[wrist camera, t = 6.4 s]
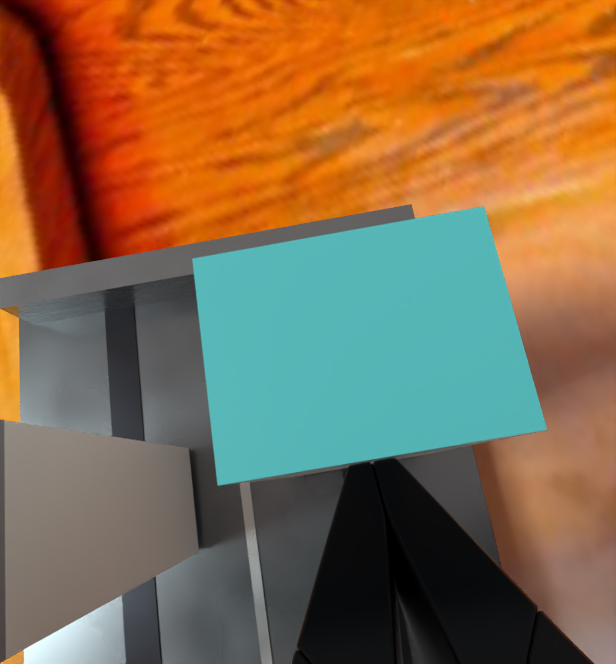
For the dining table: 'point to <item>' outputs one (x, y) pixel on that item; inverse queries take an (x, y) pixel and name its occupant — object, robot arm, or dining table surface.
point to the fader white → (84, 524)
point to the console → (192, 459)
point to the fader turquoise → (361, 348)
